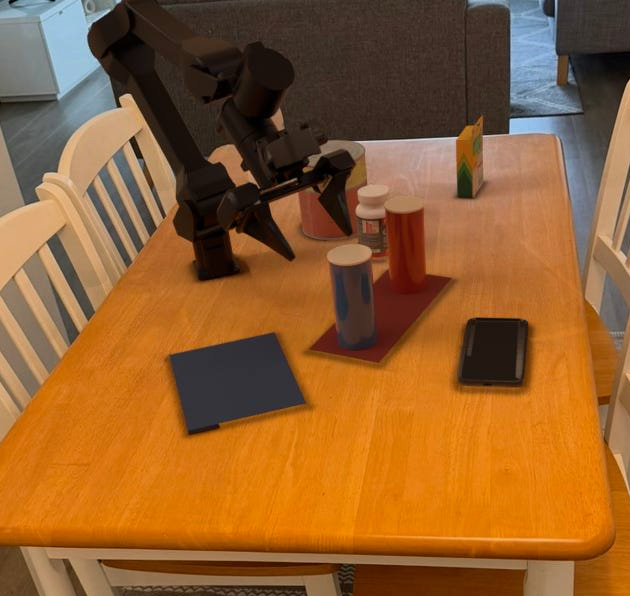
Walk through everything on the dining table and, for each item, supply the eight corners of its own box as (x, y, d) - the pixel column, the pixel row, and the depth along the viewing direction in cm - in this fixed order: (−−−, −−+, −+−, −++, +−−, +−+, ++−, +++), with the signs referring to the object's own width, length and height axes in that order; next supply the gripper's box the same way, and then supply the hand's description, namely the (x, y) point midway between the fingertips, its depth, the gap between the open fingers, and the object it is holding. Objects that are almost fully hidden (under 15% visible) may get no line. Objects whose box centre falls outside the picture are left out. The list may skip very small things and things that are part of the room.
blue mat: (170, 358, 115) (169, 354, 114) (275, 336, 117) (274, 332, 117) (188, 434, 101) (187, 430, 101) (307, 407, 104) (306, 403, 103)
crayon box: (467, 181, 155) (466, 113, 148) (483, 182, 154) (484, 114, 147) (456, 197, 150) (455, 128, 143) (473, 198, 149) (473, 128, 142)
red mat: (388, 271, 130) (388, 268, 129) (452, 281, 126) (452, 277, 125) (309, 352, 113) (308, 348, 113) (379, 366, 109) (378, 362, 109)
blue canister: (332, 334, 115) (322, 249, 108) (371, 326, 116) (364, 240, 109) (343, 354, 111) (333, 267, 104) (383, 345, 112) (377, 258, 105)
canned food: (376, 211, 148) (371, 139, 140) (364, 240, 139) (357, 165, 132) (310, 212, 150) (302, 140, 142) (295, 240, 141) (284, 165, 134)
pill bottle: (392, 262, 132) (388, 198, 126) (355, 261, 133) (349, 198, 127) (399, 245, 136) (395, 182, 130) (363, 245, 138) (358, 182, 132)
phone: (528, 318, 114) (523, 382, 102) (528, 326, 114) (523, 390, 103) (467, 317, 115) (455, 379, 103) (467, 324, 116) (455, 387, 104)
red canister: (384, 281, 126) (378, 199, 119) (420, 273, 127) (416, 192, 120) (396, 297, 122) (391, 214, 115) (433, 289, 123) (430, 206, 116)
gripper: (211, 122, 99) (283, 241, 99) (339, 81, 108) (405, 190, 108) (188, 175, 109) (254, 284, 108) (308, 134, 118) (368, 234, 117)
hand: (322, 247), depth 110 cm, fingers open, 9 cm apart
